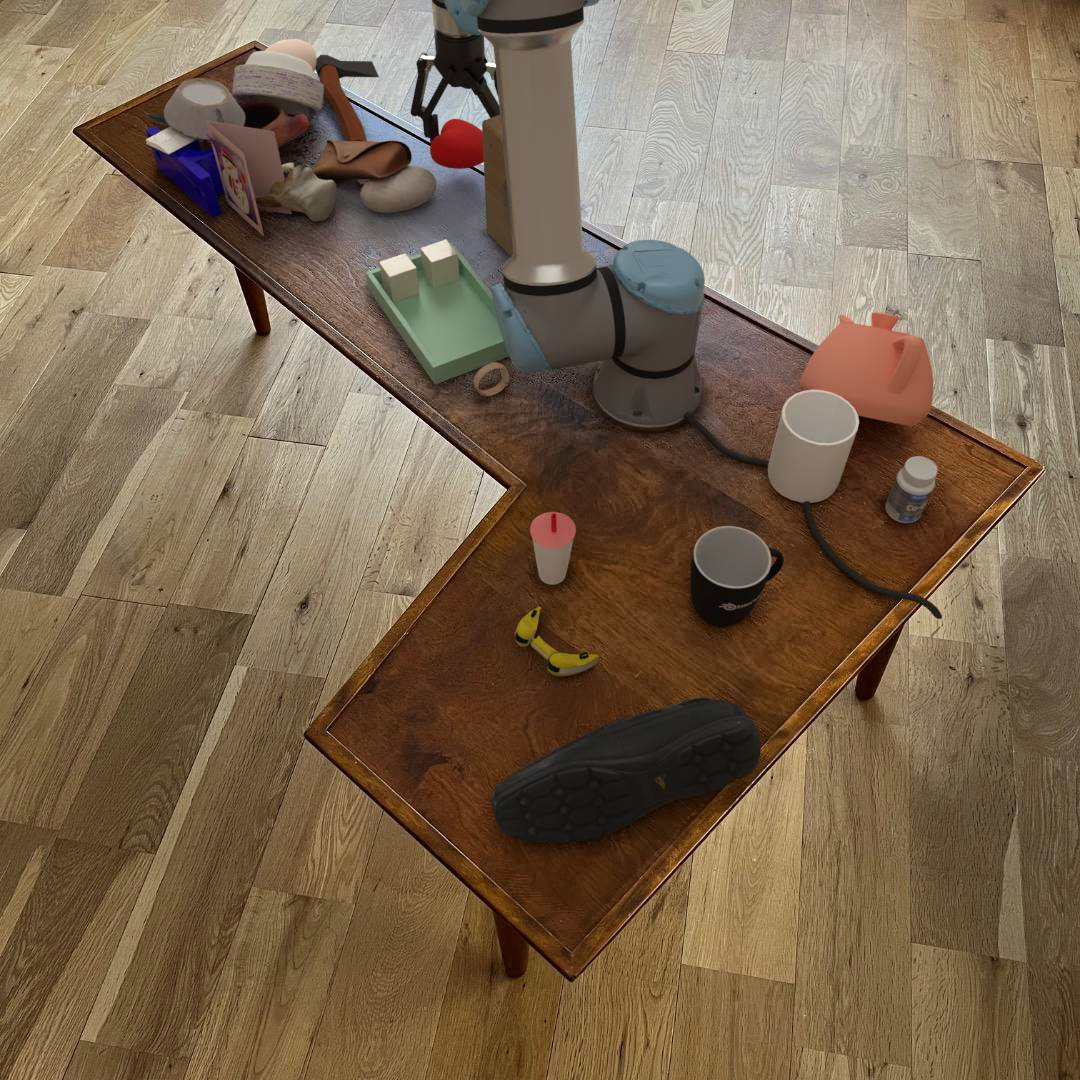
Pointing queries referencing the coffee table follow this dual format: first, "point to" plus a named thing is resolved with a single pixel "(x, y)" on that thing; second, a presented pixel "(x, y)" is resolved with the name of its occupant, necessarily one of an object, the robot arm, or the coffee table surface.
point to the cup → (552, 545)
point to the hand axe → (335, 96)
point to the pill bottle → (911, 490)
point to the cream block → (440, 263)
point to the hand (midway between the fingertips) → (466, 158)
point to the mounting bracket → (192, 173)
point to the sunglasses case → (362, 159)
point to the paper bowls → (279, 83)
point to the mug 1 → (730, 574)
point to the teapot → (874, 370)
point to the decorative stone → (399, 190)
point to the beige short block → (399, 278)
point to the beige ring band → (499, 387)
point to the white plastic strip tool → (169, 140)
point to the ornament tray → (445, 322)
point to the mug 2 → (812, 445)
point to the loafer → (627, 771)
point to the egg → (295, 50)
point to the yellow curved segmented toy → (551, 649)
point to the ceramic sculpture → (301, 192)
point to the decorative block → (496, 185)
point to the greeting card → (246, 167)
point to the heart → (458, 145)
